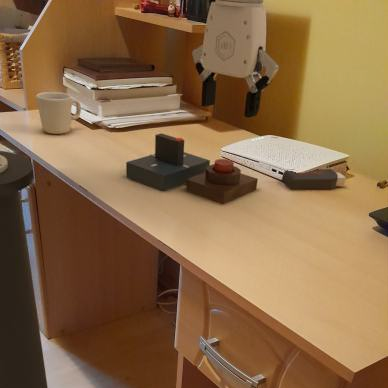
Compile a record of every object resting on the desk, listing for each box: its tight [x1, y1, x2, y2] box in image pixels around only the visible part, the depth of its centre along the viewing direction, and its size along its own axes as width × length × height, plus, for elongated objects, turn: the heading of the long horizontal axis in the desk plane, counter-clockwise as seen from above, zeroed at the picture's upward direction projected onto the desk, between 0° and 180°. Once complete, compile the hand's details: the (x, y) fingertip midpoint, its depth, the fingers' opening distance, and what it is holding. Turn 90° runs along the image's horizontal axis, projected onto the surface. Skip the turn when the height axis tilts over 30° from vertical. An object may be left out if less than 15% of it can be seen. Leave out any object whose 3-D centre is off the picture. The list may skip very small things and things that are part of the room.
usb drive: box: [281, 168, 347, 191], centre depth 105 cm, size 5×12×3 cm, turn 102°
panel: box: [125, 151, 211, 192], centre depth 104 cm, size 14×10×3 cm
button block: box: [185, 163, 259, 205], centre depth 99 cm, size 11×9×4 cm
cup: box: [35, 91, 82, 135], centre depth 123 cm, size 11×8×8 cm
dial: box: [154, 132, 185, 165], centre depth 102 cm, size 6×2×5 cm, turn 51°
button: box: [214, 158, 235, 173], centre depth 98 cm, size 4×4×2 cm
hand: (228, 110), depth 92 cm, fingers open, 9 cm apart
